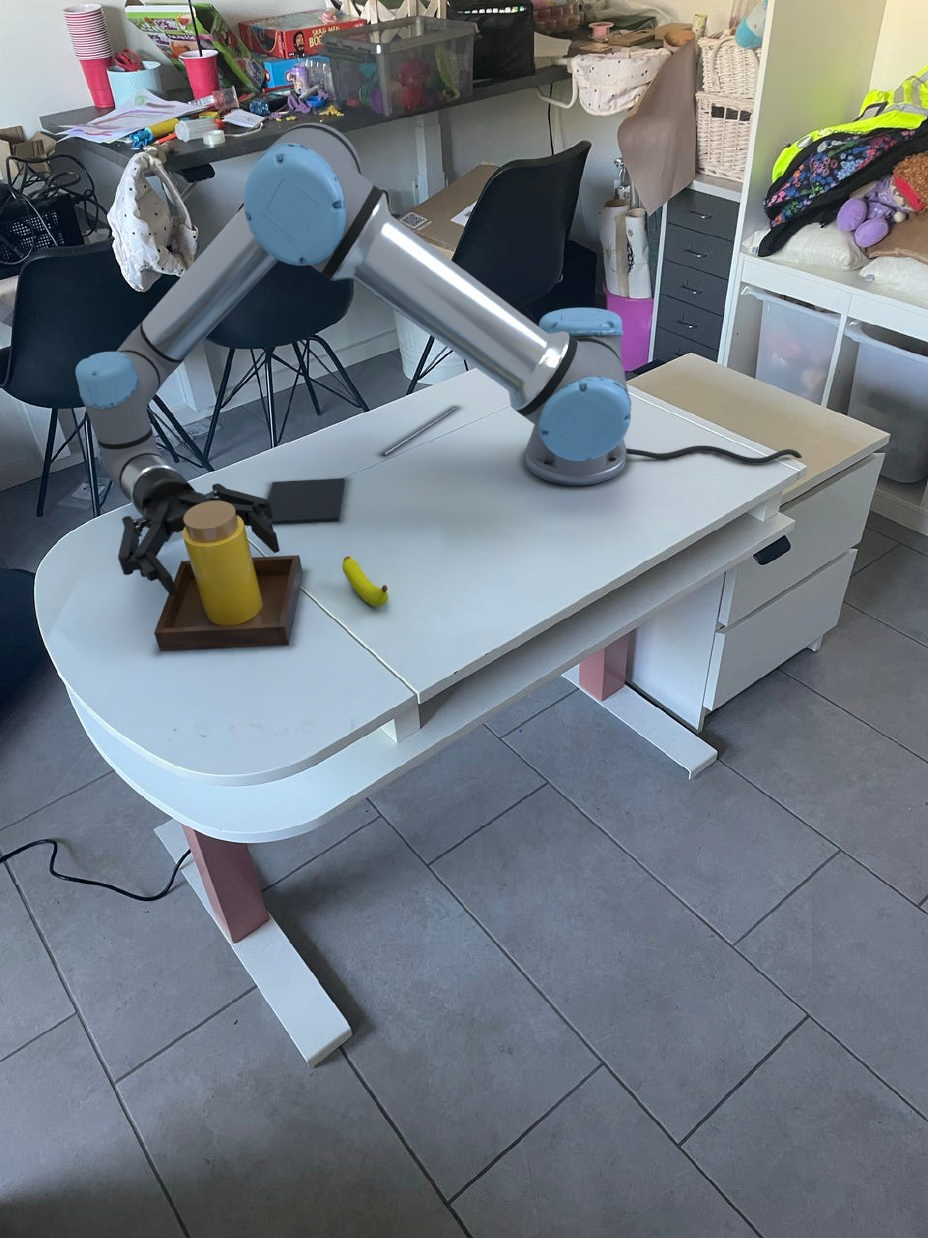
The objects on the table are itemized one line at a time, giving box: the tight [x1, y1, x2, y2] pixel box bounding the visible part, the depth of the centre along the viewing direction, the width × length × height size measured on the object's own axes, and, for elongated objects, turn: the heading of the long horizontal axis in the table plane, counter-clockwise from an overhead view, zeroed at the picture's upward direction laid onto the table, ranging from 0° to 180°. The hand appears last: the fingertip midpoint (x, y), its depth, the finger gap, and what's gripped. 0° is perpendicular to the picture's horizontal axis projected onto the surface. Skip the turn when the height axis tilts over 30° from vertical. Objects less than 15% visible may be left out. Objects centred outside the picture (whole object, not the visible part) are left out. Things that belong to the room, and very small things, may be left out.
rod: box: [382, 405, 458, 456], centre depth 150 cm, size 1×19×1 cm, turn 144°
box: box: [153, 554, 304, 652], centre depth 114 cm, size 16×15×3 cm
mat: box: [267, 477, 346, 525], centre depth 134 cm, size 11×11×1 cm
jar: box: [181, 501, 263, 625], centre depth 110 cm, size 7×7×14 cm
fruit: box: [341, 555, 389, 608], centre depth 114 cm, size 10×2×5 cm, turn 36°
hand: (224, 564), depth 109 cm, fingers open, 13 cm apart
